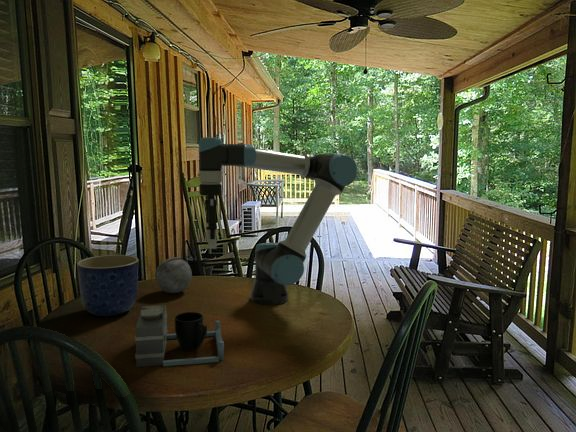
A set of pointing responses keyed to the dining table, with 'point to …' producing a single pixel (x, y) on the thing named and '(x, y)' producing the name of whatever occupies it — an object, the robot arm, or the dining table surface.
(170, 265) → the decorative orb
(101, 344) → the dining table surface
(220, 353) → the clip bracket
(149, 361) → the grey stepped block
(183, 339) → the mug
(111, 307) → the planter
